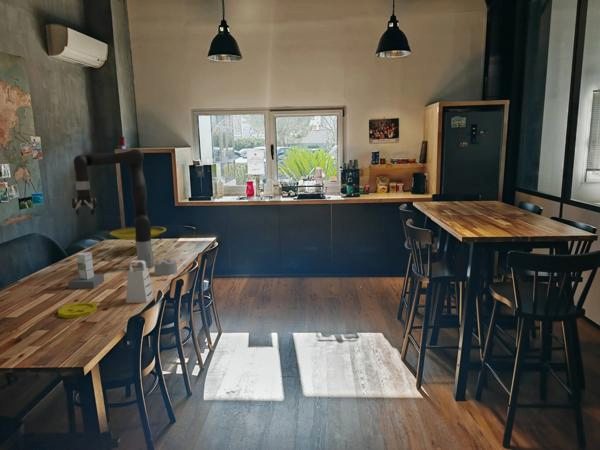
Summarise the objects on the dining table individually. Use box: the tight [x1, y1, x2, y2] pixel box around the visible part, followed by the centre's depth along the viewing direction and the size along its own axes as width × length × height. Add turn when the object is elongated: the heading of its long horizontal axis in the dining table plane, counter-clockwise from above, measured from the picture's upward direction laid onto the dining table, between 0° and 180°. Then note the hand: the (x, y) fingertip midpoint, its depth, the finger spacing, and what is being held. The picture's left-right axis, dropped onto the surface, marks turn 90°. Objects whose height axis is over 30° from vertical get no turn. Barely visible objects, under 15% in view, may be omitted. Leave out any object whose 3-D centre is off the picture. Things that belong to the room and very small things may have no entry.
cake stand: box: [109, 225, 167, 254], centre depth 348 cm, size 40×40×15 cm
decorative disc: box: [57, 301, 98, 319], centre depth 224 cm, size 17×18×2 cm
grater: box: [125, 259, 154, 304], centre depth 240 cm, size 10×10×20 cm
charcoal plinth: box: [67, 273, 105, 290], centre depth 267 cm, size 14×14×4 cm
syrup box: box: [76, 251, 95, 279], centre depth 265 cm, size 6×6×14 cm
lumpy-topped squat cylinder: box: [153, 257, 178, 277], centre depth 288 cm, size 10×13×9 cm
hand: (85, 215), depth 286 cm, fingers open, 8 cm apart
